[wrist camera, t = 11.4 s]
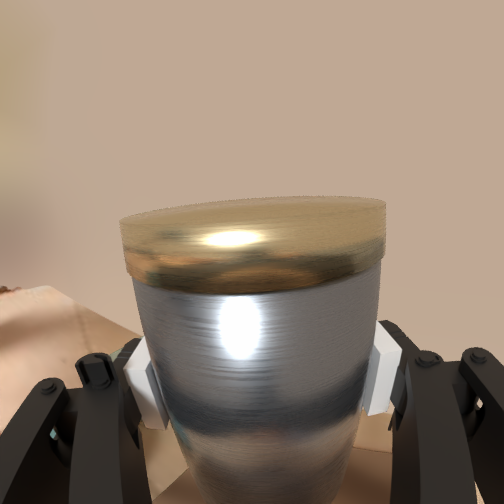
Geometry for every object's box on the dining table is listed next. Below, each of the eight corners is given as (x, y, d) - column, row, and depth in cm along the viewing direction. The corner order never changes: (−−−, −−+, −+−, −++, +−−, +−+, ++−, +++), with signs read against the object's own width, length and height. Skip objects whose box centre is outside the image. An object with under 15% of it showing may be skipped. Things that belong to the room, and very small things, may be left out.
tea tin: (309, 552, 6) (368, 225, 3) (165, 489, 9) (72, 227, 7) (361, 439, 12) (390, 196, 9) (243, 410, 16) (221, 199, 13)
